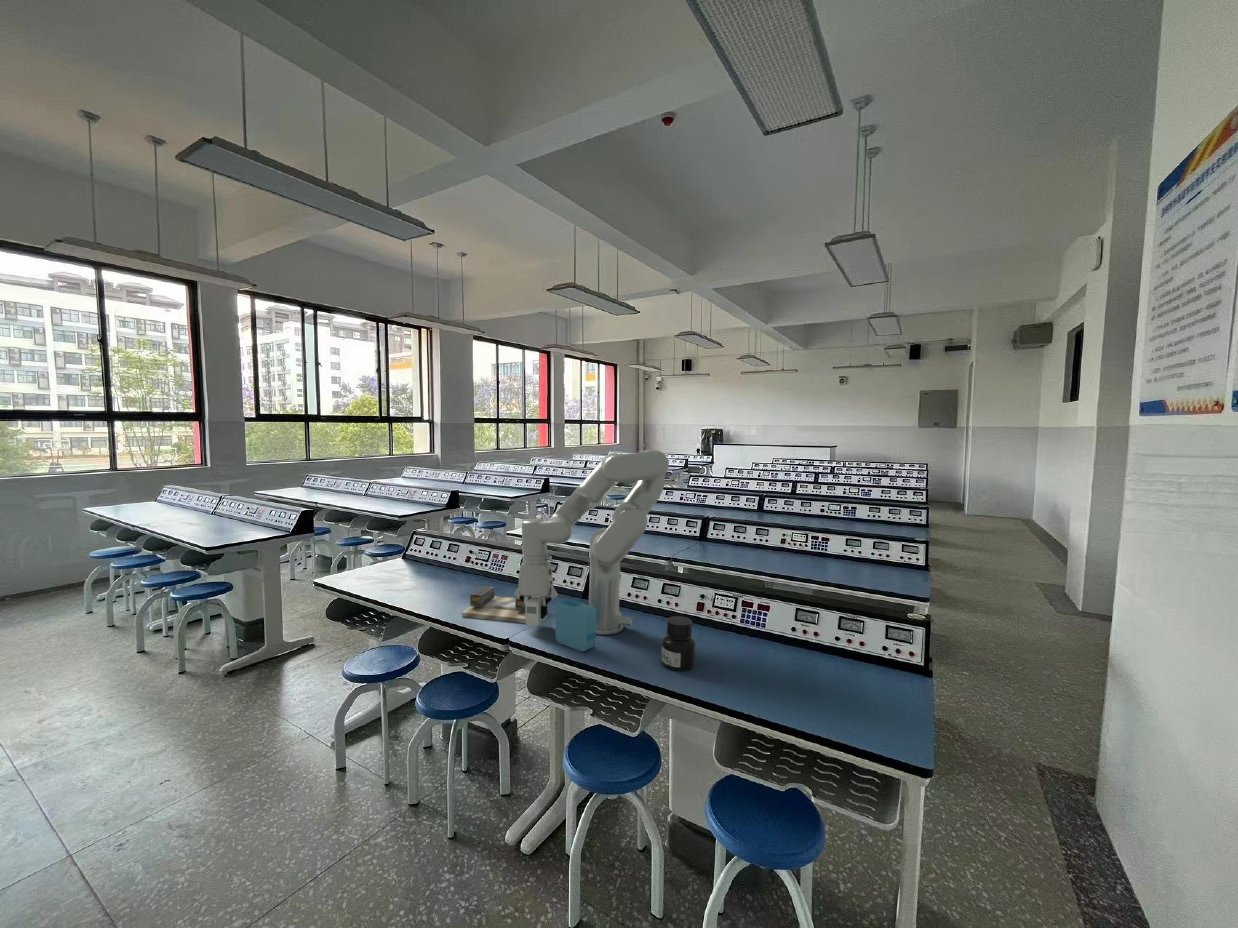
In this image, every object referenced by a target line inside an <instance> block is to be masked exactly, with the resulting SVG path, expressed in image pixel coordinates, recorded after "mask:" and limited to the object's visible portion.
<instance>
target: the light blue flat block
mask: <svg viewBox="0 0 1238 928" xmlns="http://www.w3.org/2000/svg"><path fill="white" fill-rule="evenodd" d="M555 607H556V608H555V640H556V642H557V643H558V644H561V645H563V646H566V647H568V648H570V649H574V650H576V651H579V652H582V653H584V652H586V651H589V650H590V649H592V648H595V646H596V644H597V634H596V621H597V611H596V609H595V608H594V607H593V606H590V605H589V604H586V603H582V602H579V601H576V600H573V599H570V598H569V599H566V600H563V601H560V602H558V603H557V604H556V606H555Z"/></svg>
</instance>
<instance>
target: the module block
mask: <svg viewBox="0 0 1238 928" xmlns="http://www.w3.org/2000/svg"><path fill="white" fill-rule="evenodd" d="M541 606H542V601H541V597H540V596H532V597H531V598H530V599H529V600H527V601H526V602H525V614H526V623H525V625H526V626H533V627H534V626H536V627H537V626H538V627H539V626H540V625H541V623H543V621H544V620H545V619H546V618H547V617H548V614H547V615H546V616H545V618H544V619H541Z"/></svg>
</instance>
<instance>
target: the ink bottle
mask: <svg viewBox="0 0 1238 928" xmlns="http://www.w3.org/2000/svg"><path fill="white" fill-rule="evenodd" d="M665 630H666V635H664V636H663V638H662V640H661V664H662V665H663V666H664V667H665V668H667V669H668V668H671V669H674V670H673V671H675V670H684V671H688V670H687V669H689V668H692V667H693V666H694V667H695V665H696V640H695V639H694V638H693V637H692V634H693V621H692V619H690V618H689V617H686V616H681V615H674V616H670V617H667V619H666V629H665ZM694 667H693V668H694ZM693 668H692V669H693ZM671 669H670V670H671ZM689 670H690V669H689Z"/></svg>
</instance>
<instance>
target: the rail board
mask: <svg viewBox="0 0 1238 928" xmlns="http://www.w3.org/2000/svg"><path fill="white" fill-rule="evenodd" d="M531 597H532V596H531ZM469 598H470V601H469V603H470V604H469V605H470V606H468V607H467V608H466V609H464V610H463V611H462V612H461V618H471V619H480V620H489V621H490V620H491V621H499V622H507V623H508V622H510V623H517V624H518V623H519V624H526V614H525V605H524V604H523V602H522V601H521V600H520V598H518V597H517V596H516V597H507V596H506V597H505V596H497V595H495V586H490V585H488V586H487V585H483V586H482V587H480V588H478V589H477V590H475V591H474V592H472V593H471V594H470V597H469Z"/></svg>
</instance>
